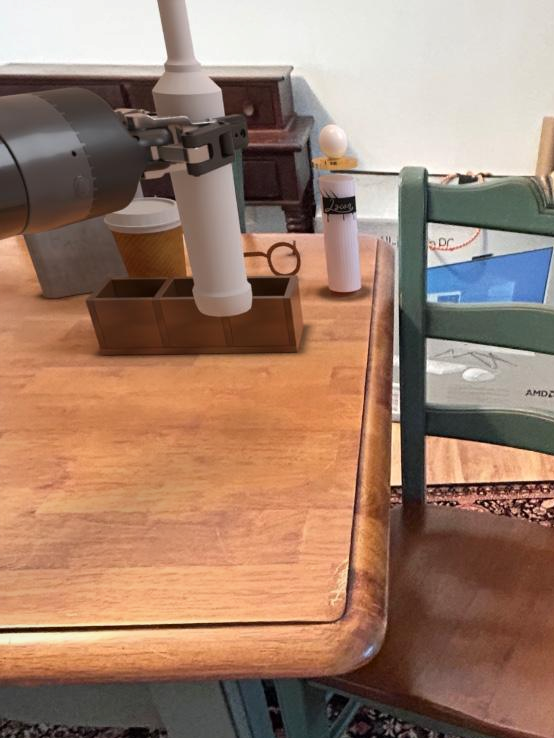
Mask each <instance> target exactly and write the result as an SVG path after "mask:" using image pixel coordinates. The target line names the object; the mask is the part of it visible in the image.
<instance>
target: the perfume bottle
mask: <svg viewBox="0 0 554 738" xmlns="http://www.w3.org/2000/svg"><path fill="white" fill-rule="evenodd" d="M317 139H318V147H319V149H320V151H321V153H322V154H323V155H322V156H319V157H314V158H312V159H311V167H312V168H314V169H317V170H323V171H346V170H351V169H355V168H357V167H358V166H359V161H358V158H356V157H353V156H347V155H345V154H346V152H347V151H348V148H349V147H348V146H349V140H348V135H347V134H346V131H345V130H344V129H343V128H342V127H341V126H339V125H337V124H334V123H329V124H327V125H325V126H324V127H322V129H320V132H319V134H318V138H317ZM317 180H318V190H319V201H320V212H321V221H322V231H323V242H324V252H325V253H324V254H325V262H326V263H325V264H326V273H327V284H328V289H329V290H330V291H333V292H337V293H350V292H356V291H358V290H360V289H362V275H361V274H362V273H361V262H360V261H361V260H360V246H359V231H358V217H357V199H356V188H355V177H354V176H352V175H349V174H338V173H337V174H336V173H334V174H325V175H321V176H319V177H318V179H317Z"/></svg>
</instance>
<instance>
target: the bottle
mask: <svg viewBox="0 0 554 738" xmlns="http://www.w3.org/2000/svg"><path fill="white" fill-rule="evenodd" d="M156 2H157V8H158V13H159V18H160V23H161V29H162V34H163V40H164V46H165V50H166V57H167V58H166V61H165V62H163V67H164V72H163V74H162V75H161V76H160V78H159V79H158V81H157V83H156V84H155V85H154V87H153V88H152V89H151V95H152V98H153V102H154V107H155V112H157V116H159V115H170V114H179V115H183V116H186V117H188V118H189V119H190V121H192V120H202V119H205V118H207V117H211V118H212V119H213V118H218V117H223V116H226V114H225V106H224V100H223V90H222V89H221V87H220V86H218V84H216V82H215V81H214V80H213V79H212V78H210V76H208V75H207V74H206V73H205V72H204V71H203V70H202V69H203V68H202V63H201V62H199V61H198V60H197V59H196V56H195V51H194V45H193V40H192V33H191V28H190V27H191V26H190V21H189V15H188V10H187V4H186V3H187V2H186V0H156ZM168 128H169V129H170V130H171V132H172V134H173V138H174V143H175V144H178V140H177V135H176V130H175V127H174V126H173V125H172V126H168ZM232 166H233V165H232V163H231V164H228V165H225V166H223V167H221V168H218V169H216V170H213V171H211V172H209V173H206V174H204V175H200V177H194V176H193V175H188V173H187V170H184V171H176V172H169V176H170V180H171V185H172V189H173V194H174V196H175V197H174V198H175V201H176V203H177V207H178V212H179V216H180V221H181V226H182V232H183V240H184V243H185V244H184V245H185V248H186V252H187V257H188V261H189V267H190V270H191V275H192V276H193V280H194V287H193V290H192V291H193V295H194V299H195V303H196V305H197V307H198V309H199V311H200V312H201V313H203V314H206V315H209V316H218V317H221V316H233V315H239V314H241V313H244V312H247V311H248V310H249V309H251V305H252V289H251V285H250V284H249V283H248V282H247V276H248V275H247V269H246V263H245V257H244V254H243V253H244V248H243V247H244V246H243V241H242V232H241V225H240V218H239V217H240V216H239V211H238V202H237V196H236V189H235V181H234V173H233V167H232Z"/></svg>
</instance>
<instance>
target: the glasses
mask: <svg viewBox="0 0 554 738" xmlns="http://www.w3.org/2000/svg"><path fill="white" fill-rule="evenodd" d="M280 247H285V248H288V249H290V250H292V255H295V258H296V265H295V268H294V269H293V270H292V271H291V272H288V273H281V272H279V271H278V270H276V268H275V267H274V265H273V261H272V253H273V252H274V251H275V250H276V249H277V248H280ZM243 254H244V258H253V257H254V258H255V257H263V258H266V261H267V264H268V267H269V270H270V272H271V273H272V274H273V276H285V275H290V276H291V275H297V274H299V271H300V270H301V265H302V261H301V255H300V252H299V251H298V248H297V243H296V240H294V239H293V240H292V243H290V242H287V241H279V242H276V243H274V244H272V245H271V246H270V247H269V248H268V249H267V251H266V253H265V252H263V251H248V252H247V251H246V252H243Z"/></svg>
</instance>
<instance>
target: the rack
mask: <svg viewBox="0 0 554 738" xmlns="http://www.w3.org/2000/svg"><path fill="white" fill-rule="evenodd" d="M246 276H247V282H248V283H249V284H250V285H251V289H252V305H251V309H249V310H248V311H247V312H244V313H241V314H239V315H233V316H221V317H218V316H209V315H206V314H203V313H201V312H200V311H199V309H198V307H197V305H196V303H195V299H194V295H193V291H192V290H193V287H194V280H193V275H192V276H191V275H190V276H189V275H187V276H177V277H106V279H105V280H104V281H103V282H102V283H101V284H100V285H99V286H98V287H97V288H96V289H95V290H94V292H91V293H90V295H88V297H87V298H86V299H85V304H86V307H87V310H88V314H89V317H90V321H91V324H92V327H93V330H94V332H95V336H96V339H97V342H98V345H99V349H100V352H101V355H102V356H129V355H135V356H136V355H137V356H138V355H139V356H140V355H195V354H196V355H197V354H199V355H201V354H203V355H205V354H260V353H261V354H262V353H263V354H267V353H268V354H269V353H273V354H274V353H298V351H299V347H300V343H301V339H302V335H303V331H304V328H305V327H304V318H303V311H302V302H301V294H300V287H299V285H300V284H299V277H298V275H297V274H296V275H291V276H290V275H285V276H276V275H246Z"/></svg>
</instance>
